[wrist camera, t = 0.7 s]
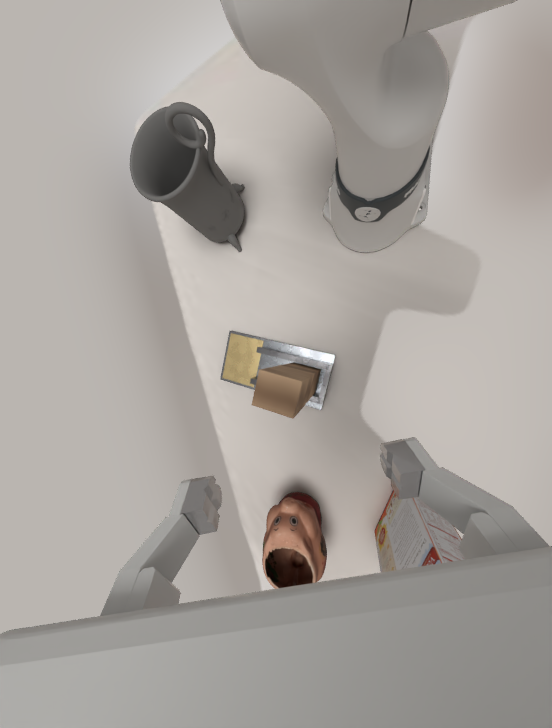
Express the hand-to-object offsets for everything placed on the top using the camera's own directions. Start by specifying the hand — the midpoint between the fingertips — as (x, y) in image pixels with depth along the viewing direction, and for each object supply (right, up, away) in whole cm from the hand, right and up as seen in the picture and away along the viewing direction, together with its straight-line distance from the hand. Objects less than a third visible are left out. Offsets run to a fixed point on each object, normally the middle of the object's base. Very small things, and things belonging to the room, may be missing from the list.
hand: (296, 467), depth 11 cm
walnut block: (+5, +2, +38) cm, 38 cm away
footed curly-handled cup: (-12, +39, +43) cm, 59 cm away
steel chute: (-1, +4, +41) cm, 41 cm away
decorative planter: (+5, -30, +41) cm, 52 cm away
